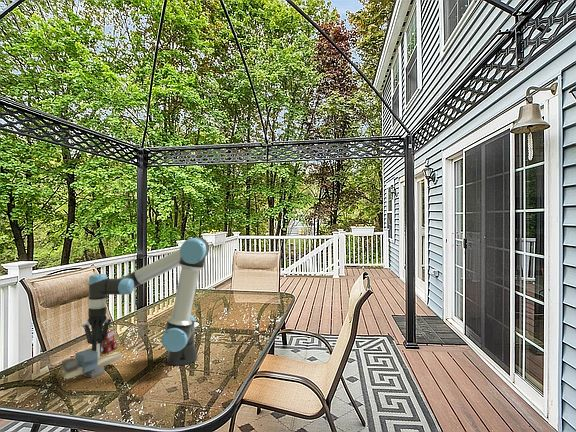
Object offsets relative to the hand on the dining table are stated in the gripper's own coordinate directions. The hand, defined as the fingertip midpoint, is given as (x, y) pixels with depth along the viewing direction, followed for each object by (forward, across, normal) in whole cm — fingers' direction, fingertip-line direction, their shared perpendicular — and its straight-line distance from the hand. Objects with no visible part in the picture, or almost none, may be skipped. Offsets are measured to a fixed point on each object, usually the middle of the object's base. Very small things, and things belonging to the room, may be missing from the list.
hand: (96, 357), depth 167 cm
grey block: (+4, +5, 0) cm, 6 cm away
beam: (+8, +1, 0) cm, 8 cm away
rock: (+8, -4, -14) cm, 17 cm away
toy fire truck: (+8, -20, -24) cm, 32 cm away
